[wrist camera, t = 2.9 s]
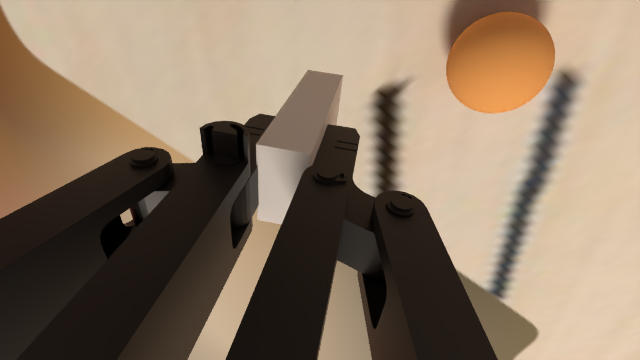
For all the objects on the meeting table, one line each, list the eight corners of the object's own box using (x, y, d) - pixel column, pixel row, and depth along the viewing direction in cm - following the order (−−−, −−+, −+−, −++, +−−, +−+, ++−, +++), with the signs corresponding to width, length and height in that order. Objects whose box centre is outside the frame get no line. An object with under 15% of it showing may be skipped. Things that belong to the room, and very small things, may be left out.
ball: (457, -2, 22) (474, 15, 17) (553, 10, 22) (597, 31, 17) (431, 86, 26) (439, 120, 21) (512, 99, 25) (540, 136, 20)
